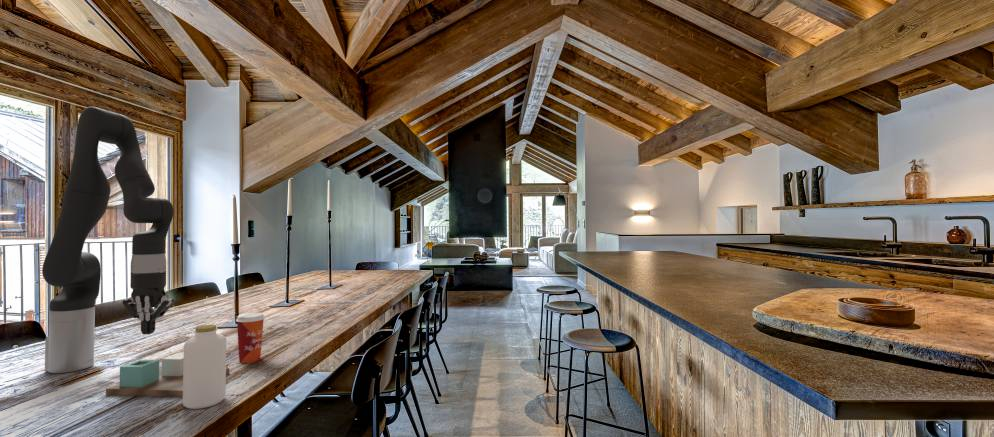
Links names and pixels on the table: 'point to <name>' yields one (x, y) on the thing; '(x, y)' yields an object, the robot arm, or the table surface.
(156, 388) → the pin base
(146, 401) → the table surface
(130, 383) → the teal boxy piece
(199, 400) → the white plastic bottle
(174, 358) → the block
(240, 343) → the paper cup
